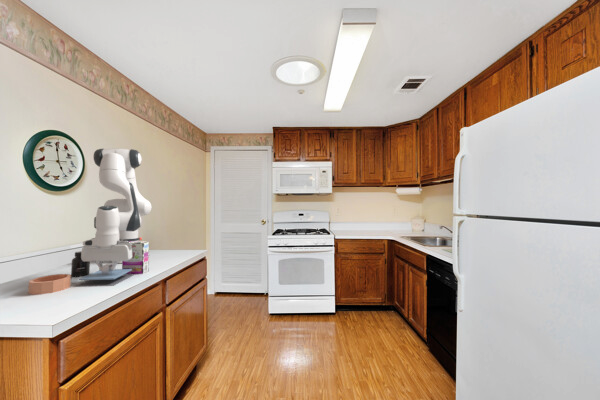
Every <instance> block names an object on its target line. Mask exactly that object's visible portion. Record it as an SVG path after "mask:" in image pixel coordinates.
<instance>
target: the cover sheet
mask: <svg viewBox="0 0 600 400" xmlns="http://www.w3.org/2000/svg"><path fill="white" fill-rule="evenodd" d="M113 264H114V263H111V264H110V263H108V264H103V266H102V271H99V270H97V271H95V272H92V273H89V275H87V276H82V277H79V278H78V281H88V280H113V279H116V278H118V277H120V276H122V275H127V274H126V273H128V272H130V271H131V270H132V269H121V268H120V269H117V268H115V270H114V271H110V267H111V266H112V265H113Z"/></svg>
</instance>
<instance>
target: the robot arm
mask: <svg viewBox="0 0 600 400" xmlns="http://www.w3.org/2000/svg"><path fill="white" fill-rule="evenodd" d="M93 161H94V165H96V166H97V167H98V168H99V172H98V178H99V183H100V184H101V185H102V186H103V187H104V188H105V189H107V190H110V191H112V192H116V193H118V194H121V195H122V196H123V197H125V198H114V199H113V198H112V199H108V200H106V201H105V202H104V205H101V206H99V207H98V208H97V211H96V215H95V217H94V219H93V227H94V228H95V230H96V232H95V237H93V238H91V239H87V240H84V241H83V242H82V246H83V247H82V249H81V251H82V252H81V259H82V261H90V262H96V265H97V266H98V271H102V266H103V265H104V264H103V262H111V264H113V265H112V266H111V267H110V271H114V270H115V269H116V266H117V265H118V264H122V261H128V260H130V259H131V258H132V249H131V248H132V244H131V242H129V241H142V239H143V237H139V233H140V232H139V229H140V228H141V225H142V217H143V216H147V215H149V214H150V213H151V211H152V208H153V207H152V202H150V200H148V199H146V198H145V197H144V196H143V195H142V194H141V192H140V190H139V189H138V184H137V177H136V168H139V166H141V164H142V161H143V158H142V155H141V153H140V152H139V151H138V149H137V150H136V149H132V148H131V149H129V148H99V149H95V151H94V152H93ZM128 242H129V243H128ZM149 257H150V254H149Z"/></svg>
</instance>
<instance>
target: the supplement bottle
mask: <svg viewBox="0 0 600 400" xmlns="http://www.w3.org/2000/svg"><path fill="white" fill-rule="evenodd" d="M81 252H82V250H81V251H75V252H74V257H73V258H72V259H71V265H70V266H71V269H70V271H71V272H70V273H71V274H70V275H71V278H82V277H85V276H87V275H90V272H91V271H90V269H91V268H90V266H91V261H82V259H81Z"/></svg>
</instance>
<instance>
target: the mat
mask: <svg viewBox="0 0 600 400" xmlns="http://www.w3.org/2000/svg"><path fill="white" fill-rule="evenodd" d="M134 276H135V274H124V275H122V276H120V277H118V278H116V279H113V280H85V281H84V282H82V283H81V282H80V283H79V284H76V285H74V286H73V288H82V287H83V288H85V287H88V288H89V287H114V286H116V285H117V284H120V283H122V282H123V281H125V280H127V279H130V278H131V277H134Z"/></svg>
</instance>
